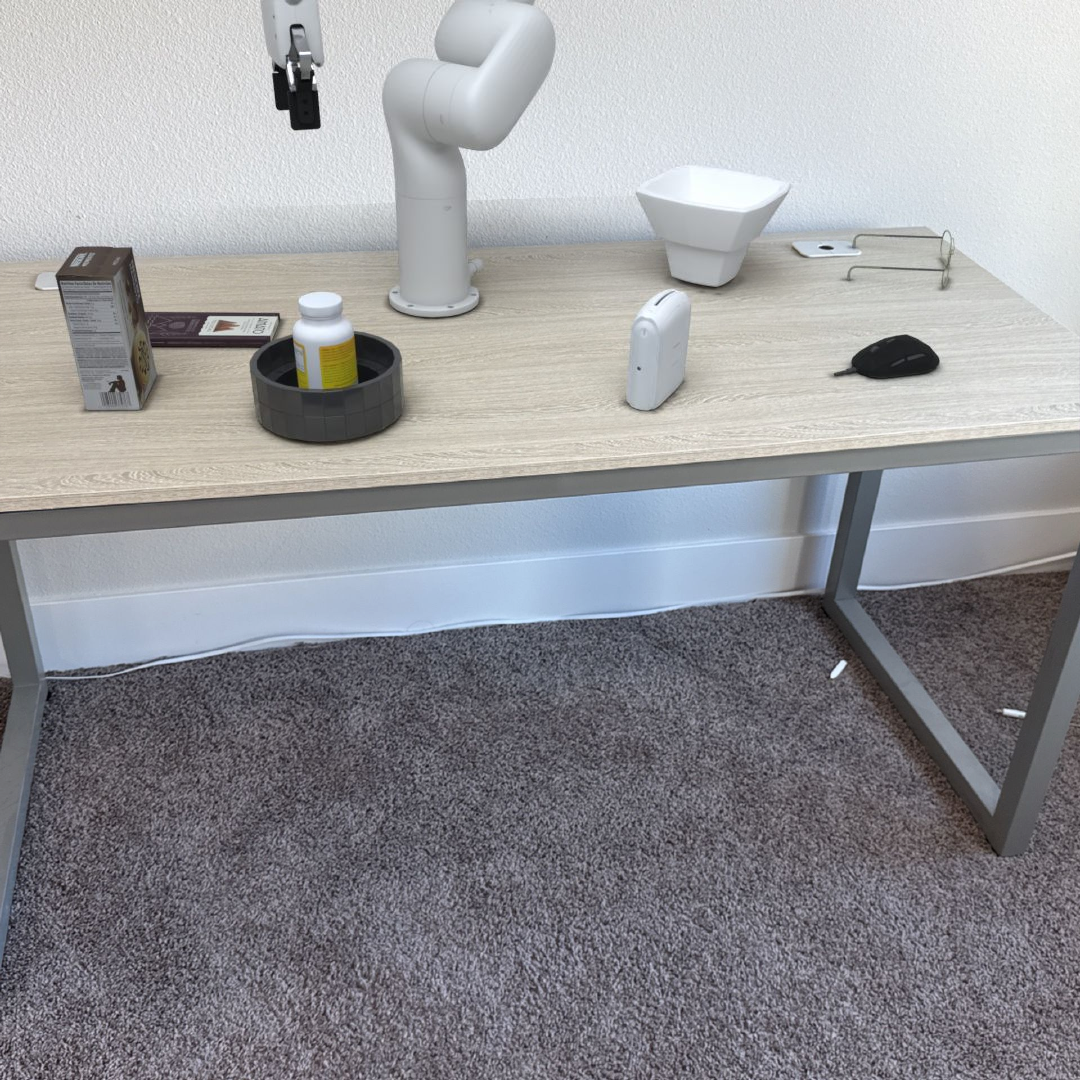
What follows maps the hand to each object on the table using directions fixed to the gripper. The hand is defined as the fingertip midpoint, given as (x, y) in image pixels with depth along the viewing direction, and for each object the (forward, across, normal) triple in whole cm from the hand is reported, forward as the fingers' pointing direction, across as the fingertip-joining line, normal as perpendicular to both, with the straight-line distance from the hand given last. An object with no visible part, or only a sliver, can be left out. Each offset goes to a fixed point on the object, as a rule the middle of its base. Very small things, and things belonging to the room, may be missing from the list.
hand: (297, 118), depth 123 cm
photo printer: (+28, -24, -35) cm, 52 cm away
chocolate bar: (+28, +10, +13) cm, 33 cm away
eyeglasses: (+29, +4, -91) cm, 95 cm away
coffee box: (+28, -5, +24) cm, 38 cm away
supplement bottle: (+28, -17, +2) cm, 33 cm away
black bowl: (+28, -17, +2) cm, 33 cm away
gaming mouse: (+28, -27, -66) cm, 77 cm away
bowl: (+28, +8, -59) cm, 66 cm away
